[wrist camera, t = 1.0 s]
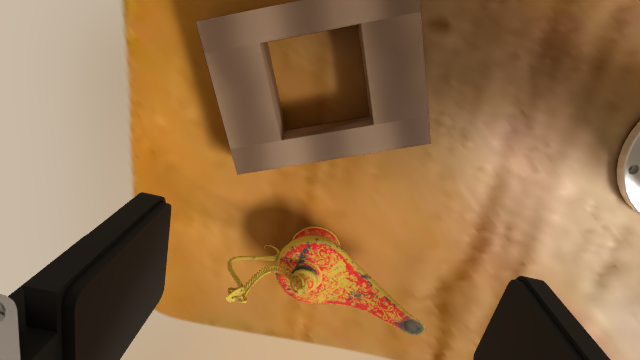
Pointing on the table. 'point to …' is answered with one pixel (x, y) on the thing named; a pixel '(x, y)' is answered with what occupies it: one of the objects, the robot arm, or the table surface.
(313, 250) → the magic lamp
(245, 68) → the shaker holder
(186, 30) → the table surface
